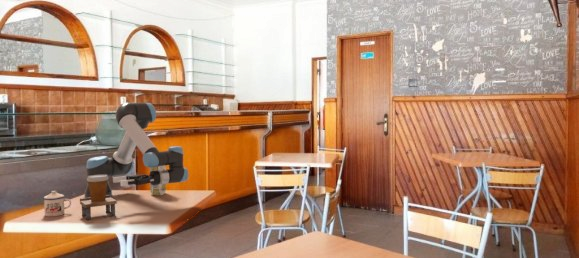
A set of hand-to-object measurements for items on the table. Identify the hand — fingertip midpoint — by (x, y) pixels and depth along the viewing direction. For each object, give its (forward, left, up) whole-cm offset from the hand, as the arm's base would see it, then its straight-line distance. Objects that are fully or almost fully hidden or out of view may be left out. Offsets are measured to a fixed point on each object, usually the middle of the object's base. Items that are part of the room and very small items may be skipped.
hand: (116, 181), depth 215 cm
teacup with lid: (-17, -24, -16) cm, 33 cm away
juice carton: (-34, +33, -16) cm, 50 cm away
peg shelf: (0, -9, -16) cm, 18 cm away
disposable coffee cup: (0, -9, -8) cm, 12 cm away
